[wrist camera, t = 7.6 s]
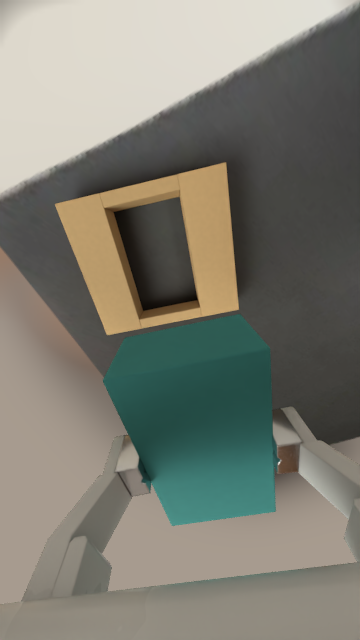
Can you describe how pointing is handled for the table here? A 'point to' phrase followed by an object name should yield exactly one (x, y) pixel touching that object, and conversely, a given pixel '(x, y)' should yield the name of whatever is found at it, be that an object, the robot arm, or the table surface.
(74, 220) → the wooden slot frame
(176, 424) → the teal block
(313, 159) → the table surface
